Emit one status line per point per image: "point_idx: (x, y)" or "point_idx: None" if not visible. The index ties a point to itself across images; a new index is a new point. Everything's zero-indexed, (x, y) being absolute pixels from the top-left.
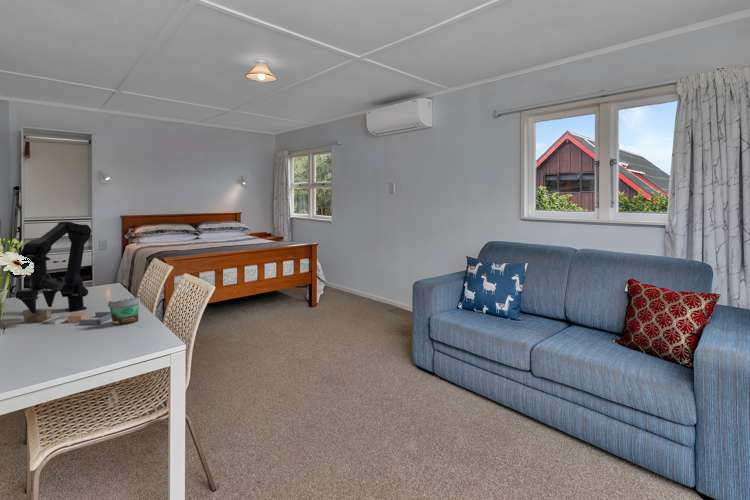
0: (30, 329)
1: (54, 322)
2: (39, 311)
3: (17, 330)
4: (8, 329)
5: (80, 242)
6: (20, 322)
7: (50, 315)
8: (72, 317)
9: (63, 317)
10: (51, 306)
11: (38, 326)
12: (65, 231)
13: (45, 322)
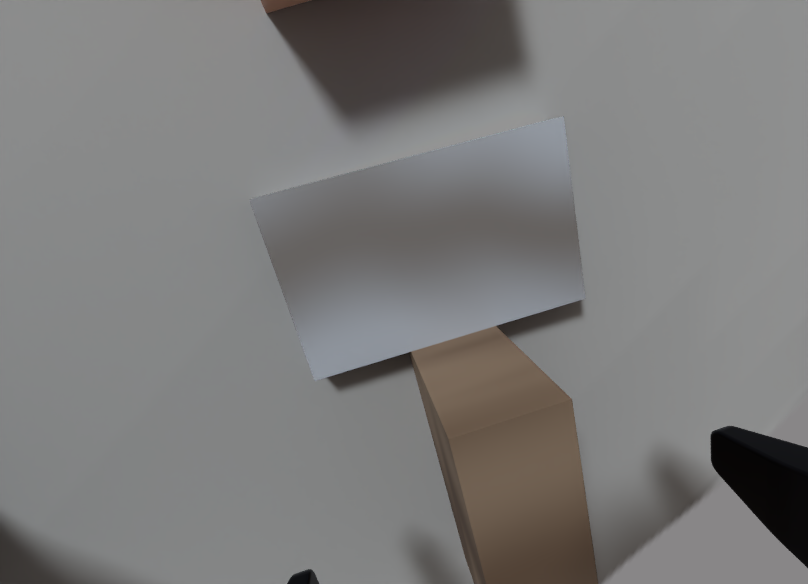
0: (763, 223)
1: (556, 131)
2: (574, 490)
3: (785, 327)
4: None
5: None
6: None
7: (431, 367)
8: None
9: (343, 198)
10: (297, 576)
11: (656, 243)
12: None
13: (575, 255)
